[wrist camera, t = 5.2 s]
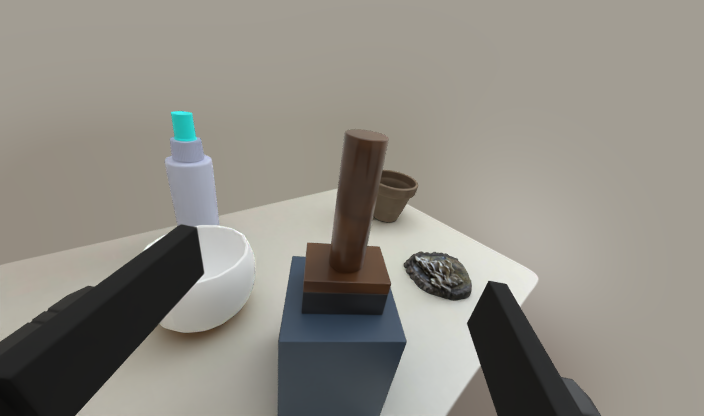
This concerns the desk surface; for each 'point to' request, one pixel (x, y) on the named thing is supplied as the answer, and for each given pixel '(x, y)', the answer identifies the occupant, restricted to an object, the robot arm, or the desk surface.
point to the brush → (350, 238)
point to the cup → (215, 281)
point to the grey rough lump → (439, 275)
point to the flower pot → (393, 195)
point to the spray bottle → (190, 175)
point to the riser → (335, 357)
